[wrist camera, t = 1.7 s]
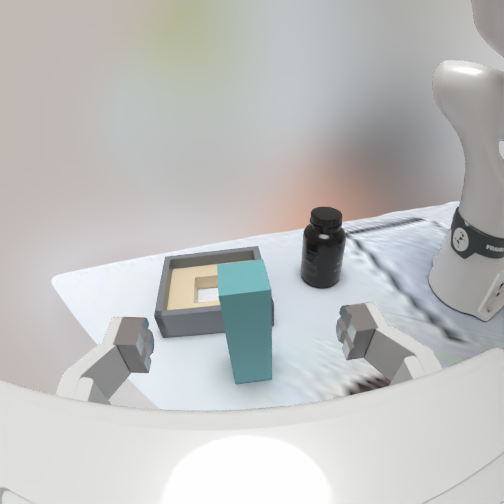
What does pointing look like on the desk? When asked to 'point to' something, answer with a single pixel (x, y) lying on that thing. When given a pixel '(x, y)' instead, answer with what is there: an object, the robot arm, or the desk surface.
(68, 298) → the desk surface
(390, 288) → the desk surface
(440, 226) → the desk surface
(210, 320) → the open box
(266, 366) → the peg
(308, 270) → the supplement bottle
